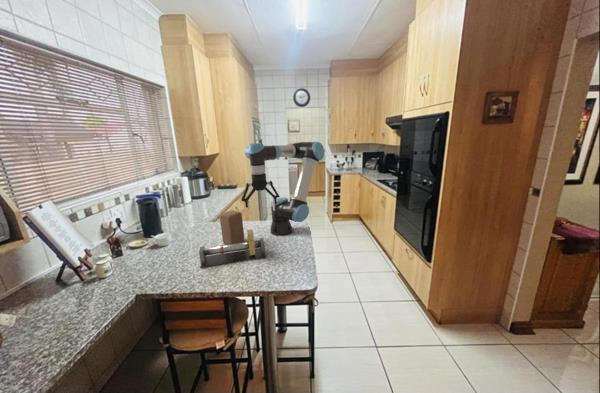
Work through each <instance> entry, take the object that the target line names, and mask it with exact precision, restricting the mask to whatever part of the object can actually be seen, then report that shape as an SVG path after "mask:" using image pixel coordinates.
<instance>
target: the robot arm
mask: <svg viewBox="0 0 600 393" xmlns="http://www.w3.org/2000/svg"><path fill="white" fill-rule="evenodd" d="M244 155H245V157H246V158H247V159H249V162H250V164H249V165H250V173H251V183H249V182H246V185H245V190H244V191H243V193H242V197H241V202H244V205H245V208H247V211H248V215H249V214H251V210H250V201H249V199H251V197H252V196H253V195H254V193H255V192H260V191H266V192H267V193H268V194H269V195H270V196H271V197H272V198H271V199H272V201H271V203H270V211H271V212H270V213H271V225H270V230H269V231H270V234H271V235H273V236H287V235H290V234H291V233H292V232H293V226H292V223H291V221H293V222H297V223H302V222H304V221H305V220H306V219H307V218H308V216H309V214H310V207H309V205H308V201H307V197H308V194H309V191H310V187H311V183H312V179H313V175H314V171H315V167H316V166H317V165H319V162H320V161H321V160H323V159H324V157H325V148H324V145H323V144H322V143H321V142H319V141H308V142H307V141H300V142H293V143H288V144H286V145H285V144H284V145H283V144H281V145H274V144H273V145H264V143H262V142H256V143H252V142H251V143H249V145H248V146H246V147H245V149H244ZM279 158H288V159H299V160H301V161H302V163H301V164H302V165H301V167H300V170H299V175H298V179H297V181H296V185H295V189H294V193H293V196H292V197H290V199H288V198H287V197H282V198H281V197H280V195H279V193H278V191H277V190H276V188H275V187H274V184H273V181H272V180H269V181H267V174H266V161H272V160H274V161H275V160H276V159H279ZM267 186H270V187H271V189H272V190H273V192H274V193H273V192H272V191H271V190H270V189H269V188H268V187H267ZM251 187H252V189H251V191H250V192H249V193H248V191H249V188H251ZM247 194H248V195H247ZM246 195H247V196H246Z"/></svg>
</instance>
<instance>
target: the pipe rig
mask: <svg viewBox="0 0 600 393" xmlns="http://www.w3.org/2000/svg"><path fill="white" fill-rule="evenodd" d="M254 245H255V255H250V253H249V242H248V241H246V242H245V241H244V242H243V243H237V244H230V245H225V244H224V245H223V244H222V245H221V244H220V245H217V246H211V247H210V246H209V247H205V246H200V247H199V251H198V253H199V260H200V269H205V268H212V267H218V266H223V265H224V266H225V265H230V264H236V262H237V263H243V262H247V261H248V262H249V261H253V260H261V259H266V258H267V254H266V244H265V240H264V237H260V238H259V240H254Z"/></svg>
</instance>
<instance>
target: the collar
mask: <svg viewBox="0 0 600 393" xmlns="http://www.w3.org/2000/svg"><path fill="white" fill-rule="evenodd" d="M246 234H247V240H248V241H247V242H249V249H248V250H249V253H250V255H255V249H256V248H255V245H254V241H255V238H254V230H253V228H251V229H247V230H246Z"/></svg>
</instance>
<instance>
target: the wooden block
mask: <svg viewBox="0 0 600 393" xmlns="http://www.w3.org/2000/svg"><path fill="white" fill-rule="evenodd" d="M219 221H220V222H219V224H220V229H221V230H220V231H221V238H222V243H223V244H224V245H230V244H237V243H244V242H245V232H244V224H243V223H244V222H243V215H242V212H241V211H237V210H231V209H230V210H228V211H226V212H222V213H220V214H219ZM223 244H222V245H223Z"/></svg>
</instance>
